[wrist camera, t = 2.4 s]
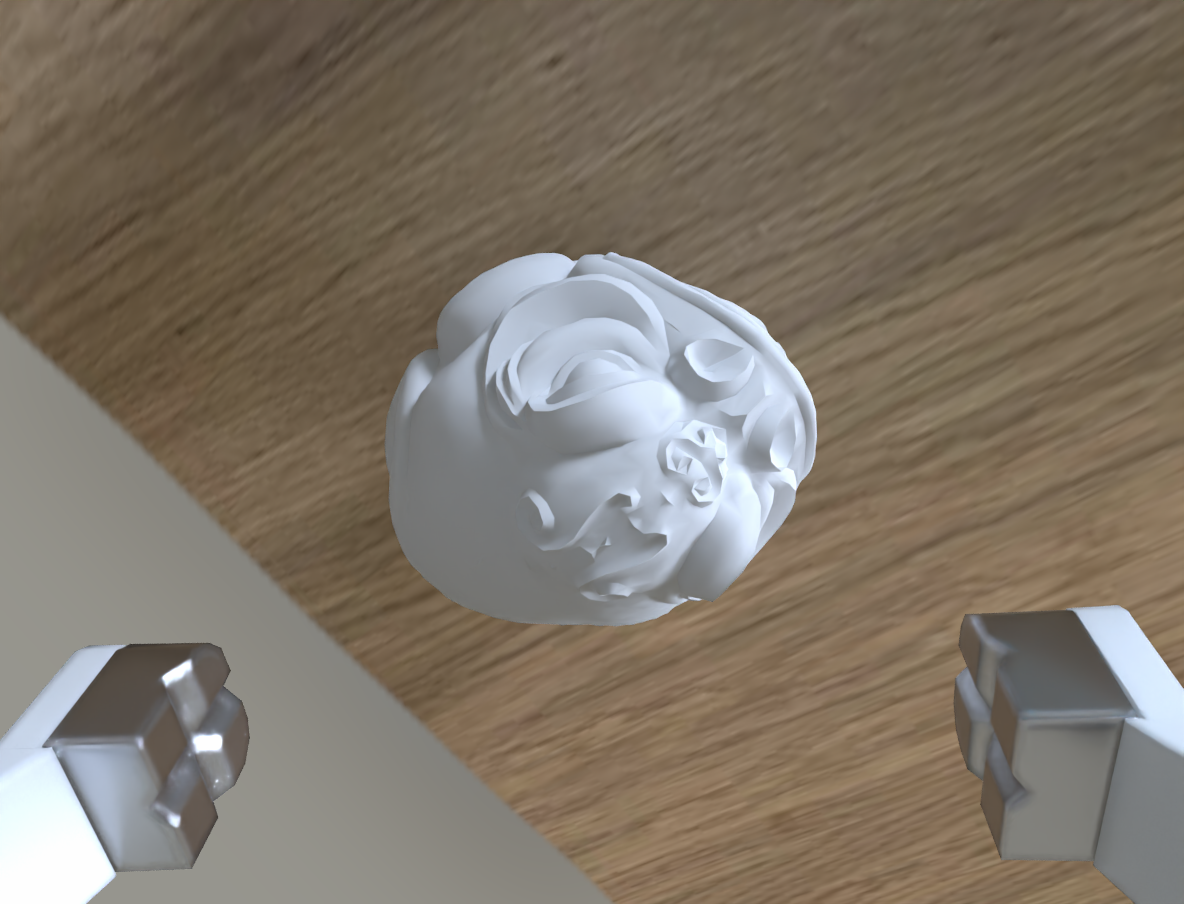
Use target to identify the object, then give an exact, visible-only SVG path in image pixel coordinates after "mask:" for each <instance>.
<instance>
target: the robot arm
mask: <svg viewBox="0 0 1184 904" xmlns="http://www.w3.org/2000/svg"><path fill="white" fill-rule="evenodd" d="M959 647H960V650H961V652H962V655H963V657H964V660H965V662H966V664H967V667H966V668H965V669H964V670H963V671H962V672H961V673H960V674H959V675H958V676H957V677H956V678H955V690H954V713H955V725H956V732H957V736H958V741H959V745H960V749H961V752H962V755H963V758H964V761H965V764H966V766H967V769H968V770H969V771H971V772H972V773H973V774H975V775H976V776H977V777H978V778H980V779H981V780H982V781H983V785H982V794H981V803H980V805H981V807H982V810H983V813H984V815H985V818H986V821H987V823H988V826H989V828H990V831H991V834H992V836H993V839H994V842H995V844H996V847H997V850H998V852H999V855H1000V858H1001V860H1054V861H1094V864H1093V866H1094V867H1096V868H1097V869H1098V870H1099V871H1100V872H1101V873H1102V874H1103V875H1104V876H1105V877H1106V878H1108V879H1109V880H1110V881H1111V882H1112V883H1113V884H1114V885H1115V886H1116V887H1117V888H1118V889H1120V890H1121V891H1122V892H1123V893H1124V894H1125V895H1126V896H1127V897H1128V898H1129V899H1131V900H1132V901H1133V902H1134V903H1135V904H1184V689H1183V688H1182V686H1181V685H1180V684H1179V682H1178V681H1177V679H1176V678H1175V677H1174V675H1173V674H1172V672H1171V671H1170V670H1169V668H1168V667H1167V665H1166V664H1165V663H1164V661H1163V660H1162V658H1161V657H1160V656H1159V654H1158V653H1157V651H1156V650H1155V648H1154V647H1153V646H1152V644H1151V643H1150V641H1149V640H1148V639H1147V637H1146V636H1145V634H1144V633H1143V632H1142V630H1141V629H1140V627H1139V626H1138V625H1137V623H1136V622H1135V620H1134V619H1133V618H1132V616H1131V615H1130V613H1129V612H1128V611H1127V610H1126V609H1124V608H1122V607H1120V606H1119V605H1112V606H1096V607H1080V608H1067V609H1066V610H1050V611H1027V612H1004V613H982V614H965V616H964V619H963V621H962V624H961V629H960V638H959ZM230 671H231V670H230V668H229V665H228V663H227V661H226V659H225V656H224V654H223V651H222V649H221V648H220V647H218V646H215V645H213V644H211V643H175V644H130V645H94V646H87V647H85V648H82V649H80V650H77V651H75V652H74V653H73V654H72V656H71V657H70V658H69V659H68V660H67V662H66V663H65V664H64V665H63V666H62V667H61V669H60V670H59V671H58V672H57V673H56V675H55V676H54V677H53V678H52V679H51V681H50V682H49V683H48V684H47V685H46V687H45V688H44V689H43V690H42V691H41V692H40V693H39V695H38V696H37V697H36V698H35V699H34V701H33V702H32V703H31V704H30V705H29V707H28V708H27V709H26V710H25V711H24V712H23V714H22V715H21V716H20V717H19V718H18V720H17V721H16V722H15V723H14V724H13V725H12V727H11V728H10V729H9V730H8V731H7V733H6V734H5V735H4V736H3V737H2V738H1V740H0V904H86V903H87V902H88V901H89V900H90V899H92V898H93V897H94V896H95V895H96V894H97V893H98V892H99V891H100V890H101V889H103V888H104V887H105V886H106V885H107V884H108V883H109V882H110V881H111V880H113V879H114V878H115V877H116V873H115V872H125V871H150V870H174V869H192V867H193V865H194V863H195V861H196V859H197V857H198V856H199V854H200V852H201V850H202V848H203V846H204V844H205V842H206V840H207V838H208V836H209V834H210V832H211V830H212V828H213V826H214V825H215V822H216V821H217V819H218V815H217V812H216V809H215V806H214V802H213V801H214V800H216V799H217V798H218V797H220V796H221V795H222V794H224V793H225V792H226V791H227V790H229V789H230V788H231V787H233V786H234V785H235V783H236V782H237V779H238V777H239V775H240V773H241V771H242V769H243V767H244V765H245V761H246V756H247V750H248V744H249V739H250V737H249V727H248V718H247V715H246V712H245V709H244V706H243V703H242V701H241V700H240V699H238V698H237V697H236V696H235V695H233V694H232V693H231V692H230V691H229V690H227V689H226V688H225V687H224V686H223V685H224V683H225V681H226V679H227V677H228V675H229V673H230Z"/></svg>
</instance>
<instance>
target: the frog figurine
mask: <svg viewBox="0 0 1184 904" xmlns="http://www.w3.org/2000/svg"><path fill="white" fill-rule="evenodd" d="M436 337H437V342H438V349H427V350H426V351H424V352H422V353H420V354H418V355H417V356H416V357H415V358H413V359H412V360H411V362H410V363H409V365H408V367H407V369H406V371H405V373H404V375H403V377H402V379H401V381H400V383H399V386H398V388H397V390H396V393H395V395H394V397H393V400H392V402H391V405H390V409H389V412H388V415H387V423H386V435H385V453H386V463H387V467H388V471H389V475H390V484H389V505H390V511H391V517H392V524H393V527H394V530H395V532H396V535H397V538H398V540H399V543H400V545H401V548H402V551H403V553H404V554H405V556H406V557H407V559H408V561H409V562H410V564H411V565H412V566H413V567H414V568H415V569H416V570H417V571H419V572H420V573H421V575H422V577H423V578H425V579H426V580H427V581H428V582H430V583H431V584H432V585H433V586H434V587H435V588H437V589H438V590H439V591H441V592H442V593H443V594H444V596H445V597H446V598H448V599H451V601H454V602H457V603H458V604H459V605H461V606H463V607H466V608H468V609H471V610H474V611H477V612H480V613H483V614H485V615H488V616H491V617H494V618H498V619H503V620H508V621H512V622H517V623H537V624H559V625H567V624H570V625H582V624H592V625H596V626H603V625H610V626H620V625H634V624H635V623H641V622H644V621H647V620H650V619H656V618H658V617H660V616H661V615H663V614H667V613H668V612H669V611H670V610H671V609H672V608H673V607H675V606H677V605H679V604H681V603H683V602H685V601H688V600H691V601H700V600H701V599H704V600H708V601H711V602H713V601H714V600H716V599H717V598H718V597H719V596H720V595H721V594H722V593H723V592H724V591H725V590H726V589H727V588H728V587H729V586H730V585H731V584H732V583H733V582H734V581H735V579H736V578H737V577H738V576H739V575H740V574H741V573H742V572H743V571H744V569H745V567H746V565H747V564H748V563H749V562H750V560H751V559H752V558H753V557H754V556H755V555H756V554H757V553H758V551H759V550H760V549H761V548H762V547H763V546H764V545H765V543H766V542H767V541H768V540H769V539H770V538H771V536H772V535H773V534H774V533H775V532H776V531H777V529H778V528H779V527H780V526H781V525H782V523H783V522H784V520H785V519H786V517H787V516H788V514H789V513H790V511H791V509H792V506H793V504H794V502H795V495H796V489H797V487H798V485H799V483H800V482H801V481H802V480H803V479H804V478H805V477H806V476H807V475H808V473H809V472H810V470H811V468H812V465H813V461H814V458H815V448H816V441H817V429H816V410H815V406H814V403H813V399H812V396H811V393H810V391H809V390H808V388H807V386H806V384H805V382H804V380H803V378H802V376H801V374H800V372H799V371H798V370H797V369H796V368H795V367H794V366H793V365H792V363H791V362H790V361H789V360H788V358H787V357H786V353H785V351H784V350H783V348H782V347H781V346H780V344H779V343H777V342H775V341H774V340H773V339H772V337H771V336H770V335H769V334H768V332H767V329H766V326H765V325H764V324H763V323H762V322H761V321H760V320H759V319H758V318H756V317H755V316H754V315H751V314H749V313H748V312H747V311H746V310H744V309H743V308H741V307H739V306H737V305H736V304H734V303H732V302H730V301H727V300H724V299H721V298H718V297H717V296H715V295H713V294H711V293H710V292H708V291H706V290H703V289H700V288H697V287H694V286H691V285H688V284H685V283H682V282H680V281H678V280H676V279H674V278H672V277H670V276H668V275H667V274H665V273H663V272H661V271H659V270H657V269H655V268H653V267H652V266H650V265H648V264H646V263H644V262H642V261H638V260H634V259H631V258H627V257H623V256H620V255H618V254H616V253H612V252H609V253H608V254H607V255H605V256H604V255H601V254H594V255H584V256H582V257H580V259H579V260H576V261H572V260H570V259H569V258H568V257H566V256H564V255H561V254H557V253H538V254H533V255H528V256H524V257H520V258H516V259H512V260H510V261H508V262H506V263H503V264H501V265H499V266H497V267H495V268H493V269H490V270H488V271H486V272H484V273H482V274H481V275H479V276H478V277H477V278H475V279H474V280H472V281H471V282H470V283H469V284H468V285H467V286H466V287H465V288H464V289H463V290H461V291H460V292H458V293H457V294H456V295H455V296H454V297H452V298H451V300H450V301H449V302H448V304H447V305H446V306H445V307H444V308H443V310H442V312H441V313H440V316H439V319H438V322H437V333H436Z"/></svg>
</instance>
